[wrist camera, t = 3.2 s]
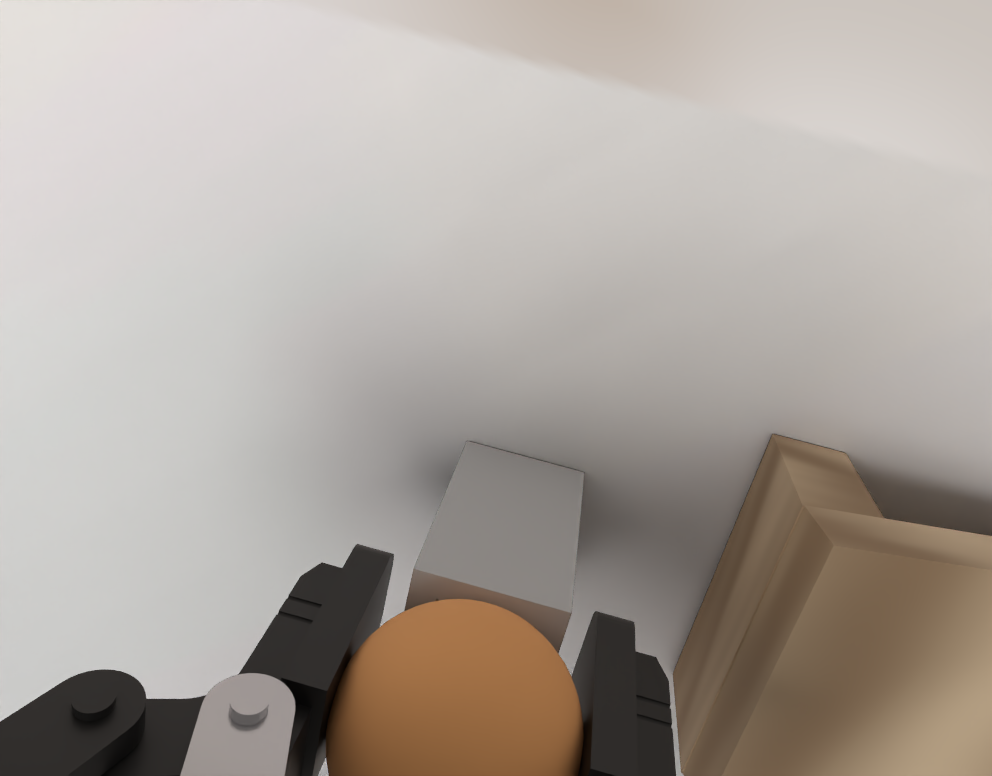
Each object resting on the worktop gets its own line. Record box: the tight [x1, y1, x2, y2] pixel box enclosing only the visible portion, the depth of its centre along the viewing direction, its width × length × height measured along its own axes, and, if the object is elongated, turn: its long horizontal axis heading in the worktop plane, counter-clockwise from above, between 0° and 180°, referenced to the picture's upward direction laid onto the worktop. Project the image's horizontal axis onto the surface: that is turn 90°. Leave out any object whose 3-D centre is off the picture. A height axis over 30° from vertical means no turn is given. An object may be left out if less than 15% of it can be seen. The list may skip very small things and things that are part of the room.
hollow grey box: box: [405, 441, 584, 653], centre depth 16 cm, size 3×3×5 cm
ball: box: [326, 599, 584, 776], centre depth 12 cm, size 4×4×4 cm
